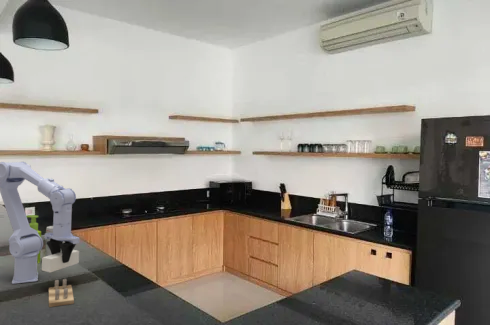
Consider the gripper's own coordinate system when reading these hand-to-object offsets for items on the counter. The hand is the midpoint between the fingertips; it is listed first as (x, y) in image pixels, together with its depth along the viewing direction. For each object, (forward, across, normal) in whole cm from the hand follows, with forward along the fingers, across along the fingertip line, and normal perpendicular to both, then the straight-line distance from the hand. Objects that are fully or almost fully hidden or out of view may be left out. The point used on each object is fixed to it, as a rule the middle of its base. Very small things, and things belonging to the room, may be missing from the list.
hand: (61, 261), depth 129 cm
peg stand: (+9, -8, +7) cm, 14 cm away
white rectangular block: (+2, 0, 0) cm, 2 cm away
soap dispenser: (+9, +32, -13) cm, 35 cm away
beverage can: (+9, +26, -18) cm, 33 cm away
